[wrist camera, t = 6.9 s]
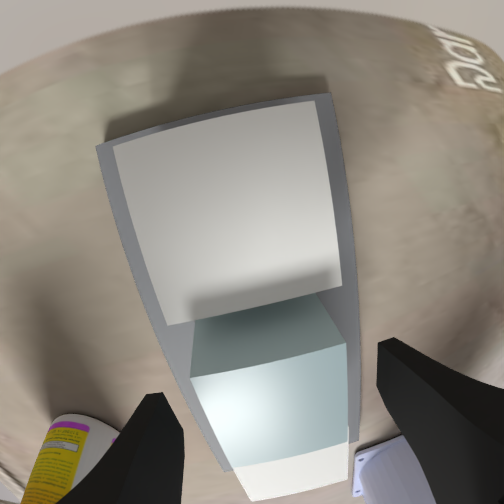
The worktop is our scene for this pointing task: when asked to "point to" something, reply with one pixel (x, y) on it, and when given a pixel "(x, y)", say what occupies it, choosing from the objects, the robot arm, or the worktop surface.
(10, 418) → the worktop surface
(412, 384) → the robot arm
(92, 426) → the supplement bottle
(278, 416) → the block
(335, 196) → the board
